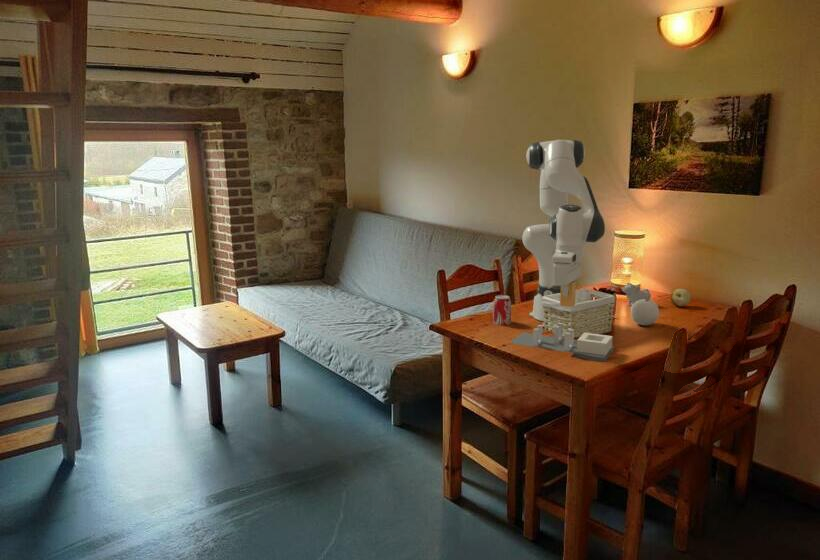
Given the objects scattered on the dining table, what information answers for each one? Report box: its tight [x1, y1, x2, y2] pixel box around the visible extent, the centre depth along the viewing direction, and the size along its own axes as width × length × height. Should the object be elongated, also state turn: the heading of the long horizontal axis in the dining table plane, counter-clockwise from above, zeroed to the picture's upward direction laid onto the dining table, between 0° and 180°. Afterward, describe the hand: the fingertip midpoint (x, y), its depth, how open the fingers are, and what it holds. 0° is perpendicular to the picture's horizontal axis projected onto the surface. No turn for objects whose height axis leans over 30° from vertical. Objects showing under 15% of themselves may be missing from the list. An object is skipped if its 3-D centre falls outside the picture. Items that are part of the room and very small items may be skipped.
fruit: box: [670, 288, 692, 308], centre depth 263 cm, size 8×8×8 cm
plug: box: [552, 280, 577, 307], centre depth 204 cm, size 4×7×8 cm, turn 59°
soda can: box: [492, 294, 512, 326], centre depth 238 cm, size 7×7×12 cm
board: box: [509, 323, 615, 363], centre depth 211 cm, size 14×33×8 cm, turn 60°
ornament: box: [630, 296, 660, 327], centre depth 236 cm, size 10×10×12 cm
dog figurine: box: [621, 282, 652, 309], centre depth 264 cm, size 5×13×11 cm, turn 95°
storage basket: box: [542, 288, 616, 339], centre depth 227 cm, size 24×16×15 cm
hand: (567, 294), depth 204 cm, fingers closed on plug, 4 cm apart
